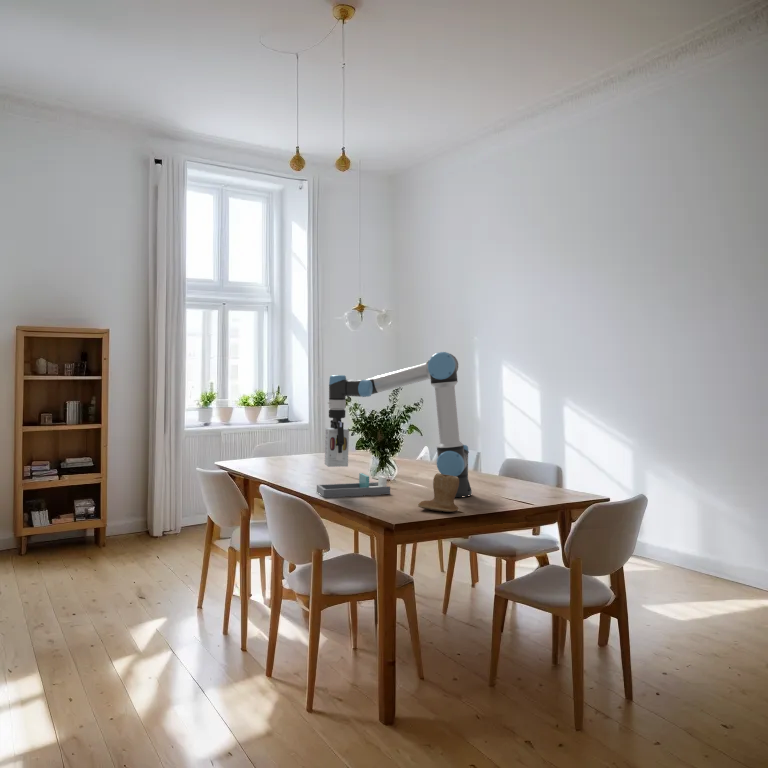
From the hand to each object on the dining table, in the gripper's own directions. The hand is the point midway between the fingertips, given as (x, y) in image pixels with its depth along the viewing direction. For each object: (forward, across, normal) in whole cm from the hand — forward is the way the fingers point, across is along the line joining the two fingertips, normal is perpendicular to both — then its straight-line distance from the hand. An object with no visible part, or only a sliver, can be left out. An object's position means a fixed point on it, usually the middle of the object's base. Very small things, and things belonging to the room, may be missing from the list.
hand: (336, 458), depth 308 cm
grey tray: (+16, 0, +7) cm, 18 cm away
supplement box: (+3, 0, 0) cm, 3 cm away
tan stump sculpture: (+16, +46, +32) cm, 58 cm away
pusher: (+15, 0, +18) cm, 23 cm away
